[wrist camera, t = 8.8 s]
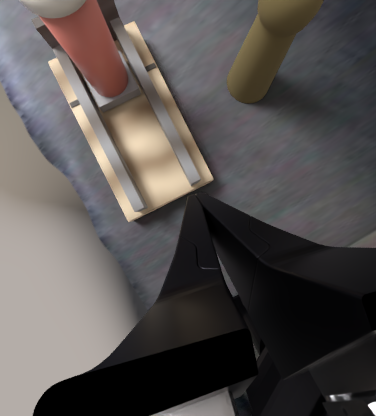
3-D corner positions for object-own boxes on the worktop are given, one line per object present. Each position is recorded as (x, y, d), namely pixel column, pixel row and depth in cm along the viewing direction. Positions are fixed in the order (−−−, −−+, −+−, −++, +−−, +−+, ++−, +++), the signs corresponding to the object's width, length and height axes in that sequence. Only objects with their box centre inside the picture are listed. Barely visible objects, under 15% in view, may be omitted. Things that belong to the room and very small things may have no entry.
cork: (218, 78, 23) (249, -46, 12) (251, 52, 23) (313, -95, 12) (244, 112, 23) (300, 20, 12) (278, 86, 23) (364, -29, 12)
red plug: (141, 94, 20) (96, -23, 10) (103, 113, 20) (19, 13, 10) (122, 57, 20) (58, -99, 10) (84, 75, 20) (-20, -64, 10)
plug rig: (211, 181, 22) (220, 171, 16) (133, 220, 22) (114, 224, 16) (138, 37, 22) (121, -25, 16) (60, 75, 22) (14, 25, 16)
